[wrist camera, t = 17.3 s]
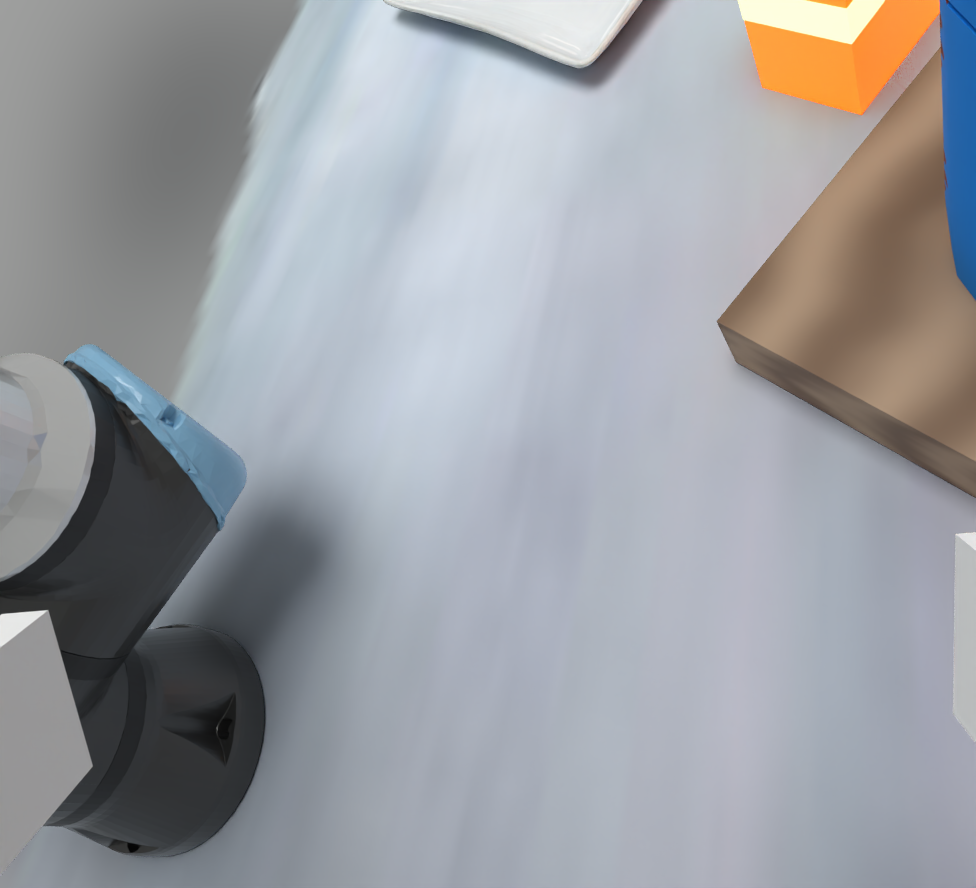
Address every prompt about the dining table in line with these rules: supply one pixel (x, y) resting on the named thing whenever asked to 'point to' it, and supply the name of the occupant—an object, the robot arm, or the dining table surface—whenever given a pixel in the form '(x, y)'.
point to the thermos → (960, 132)
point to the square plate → (537, 23)
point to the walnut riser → (875, 298)
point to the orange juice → (833, 45)
